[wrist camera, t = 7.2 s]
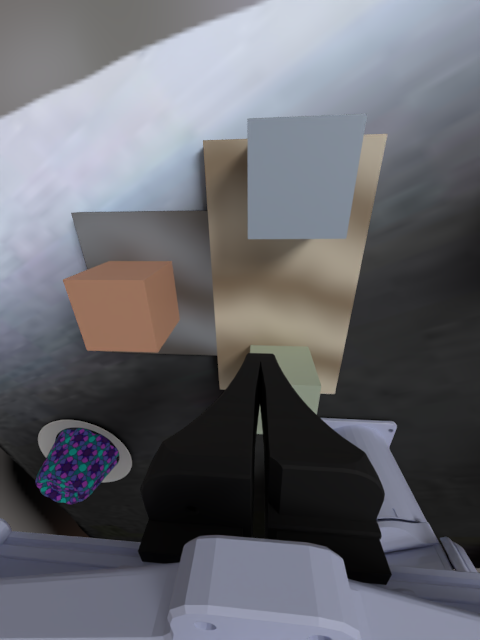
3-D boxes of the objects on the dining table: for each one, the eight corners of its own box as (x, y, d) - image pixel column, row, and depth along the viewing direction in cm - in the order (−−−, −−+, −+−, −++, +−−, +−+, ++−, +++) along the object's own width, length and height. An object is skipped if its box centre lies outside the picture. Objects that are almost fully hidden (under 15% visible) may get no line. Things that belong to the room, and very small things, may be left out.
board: (332, 386, 24) (334, 394, 23) (126, 379, 26) (121, 385, 25) (380, 137, 15) (387, 133, 14) (62, 148, 17) (51, 145, 16)
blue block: (323, 228, 17) (346, 238, 12) (250, 229, 17) (247, 239, 13) (334, 139, 15) (367, 113, 10) (251, 142, 15) (247, 118, 11)
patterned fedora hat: (40, 403, 29) (-3, 442, 24) (140, 431, 30) (117, 475, 25) (44, 462, 34) (9, 504, 29) (129, 485, 35) (108, 529, 30)
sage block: (302, 391, 23) (312, 436, 19) (250, 389, 24) (248, 433, 19) (308, 346, 21) (321, 386, 17) (250, 345, 21) (247, 383, 17)
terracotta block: (179, 319, 21) (158, 352, 16) (123, 318, 21) (87, 350, 17) (171, 261, 19) (144, 280, 14) (109, 260, 19) (62, 279, 15)
